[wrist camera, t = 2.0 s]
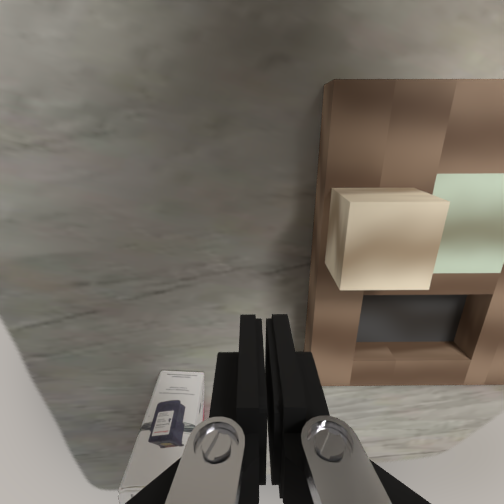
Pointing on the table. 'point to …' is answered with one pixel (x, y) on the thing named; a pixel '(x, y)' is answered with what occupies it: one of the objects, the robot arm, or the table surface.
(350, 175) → the board
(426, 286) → the birch block
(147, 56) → the table surface
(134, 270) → the table surface
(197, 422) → the ink box
